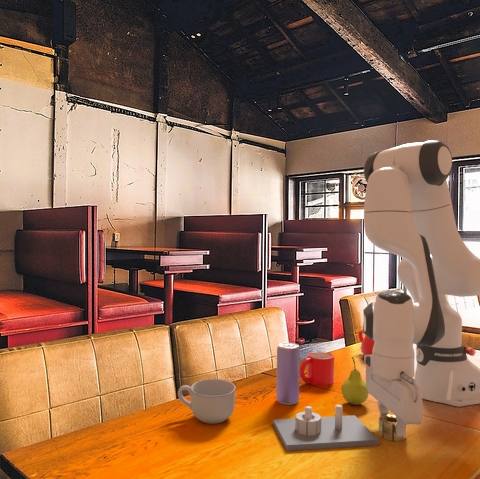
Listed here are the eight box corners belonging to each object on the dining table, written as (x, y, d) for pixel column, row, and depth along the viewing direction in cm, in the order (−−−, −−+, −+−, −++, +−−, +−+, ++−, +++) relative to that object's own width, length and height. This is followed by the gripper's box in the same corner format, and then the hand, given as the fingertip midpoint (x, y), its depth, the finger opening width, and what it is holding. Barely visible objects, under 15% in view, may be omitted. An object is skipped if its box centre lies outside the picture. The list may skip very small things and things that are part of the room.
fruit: (372, 409, 120) (372, 362, 120) (345, 409, 120) (346, 362, 120) (363, 399, 127) (363, 354, 127) (338, 399, 127) (338, 355, 126)
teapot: (343, 354, 173) (344, 321, 172) (373, 348, 181) (373, 317, 181) (399, 372, 151) (400, 334, 151) (430, 365, 160) (431, 329, 159)
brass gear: (397, 429, 108) (398, 414, 108) (409, 440, 103) (409, 423, 103) (375, 431, 107) (375, 415, 107) (386, 441, 102) (386, 425, 102)
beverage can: (298, 406, 122) (298, 348, 121) (274, 404, 123) (275, 347, 122) (299, 398, 127) (300, 343, 127) (277, 396, 129) (278, 341, 128)
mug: (291, 382, 140) (291, 356, 140) (320, 375, 147) (320, 350, 147) (309, 390, 134) (310, 362, 134) (339, 382, 141) (339, 356, 141)
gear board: (354, 420, 113) (355, 394, 113) (378, 445, 100) (379, 416, 100) (273, 424, 110) (273, 398, 110) (286, 450, 97) (287, 421, 97)
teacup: (241, 413, 117) (241, 381, 117) (225, 431, 107) (226, 396, 106) (190, 406, 121) (190, 375, 121) (170, 422, 111) (170, 388, 111)
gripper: (431, 380, 95) (430, 448, 95) (385, 353, 115) (384, 409, 115) (402, 381, 94) (401, 450, 94) (361, 354, 114) (360, 411, 114)
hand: (391, 427), depth 105 cm, fingers closed on brass gear, 5 cm apart
